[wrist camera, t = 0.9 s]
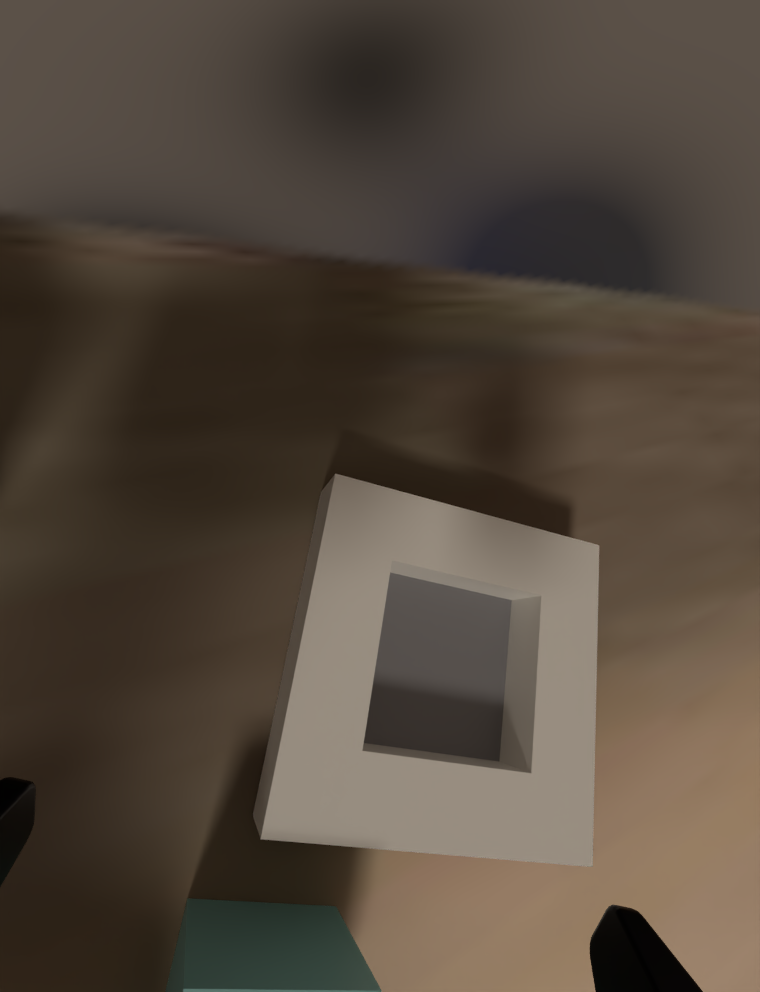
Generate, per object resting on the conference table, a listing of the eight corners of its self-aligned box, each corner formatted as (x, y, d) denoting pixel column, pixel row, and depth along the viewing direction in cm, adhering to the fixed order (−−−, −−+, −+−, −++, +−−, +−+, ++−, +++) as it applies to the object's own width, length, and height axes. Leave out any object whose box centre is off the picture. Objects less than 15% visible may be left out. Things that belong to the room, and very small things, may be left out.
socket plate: (549, 843, 21) (592, 866, 19) (252, 815, 18) (260, 839, 16) (562, 554, 25) (599, 545, 23) (320, 491, 22) (335, 473, 20)
